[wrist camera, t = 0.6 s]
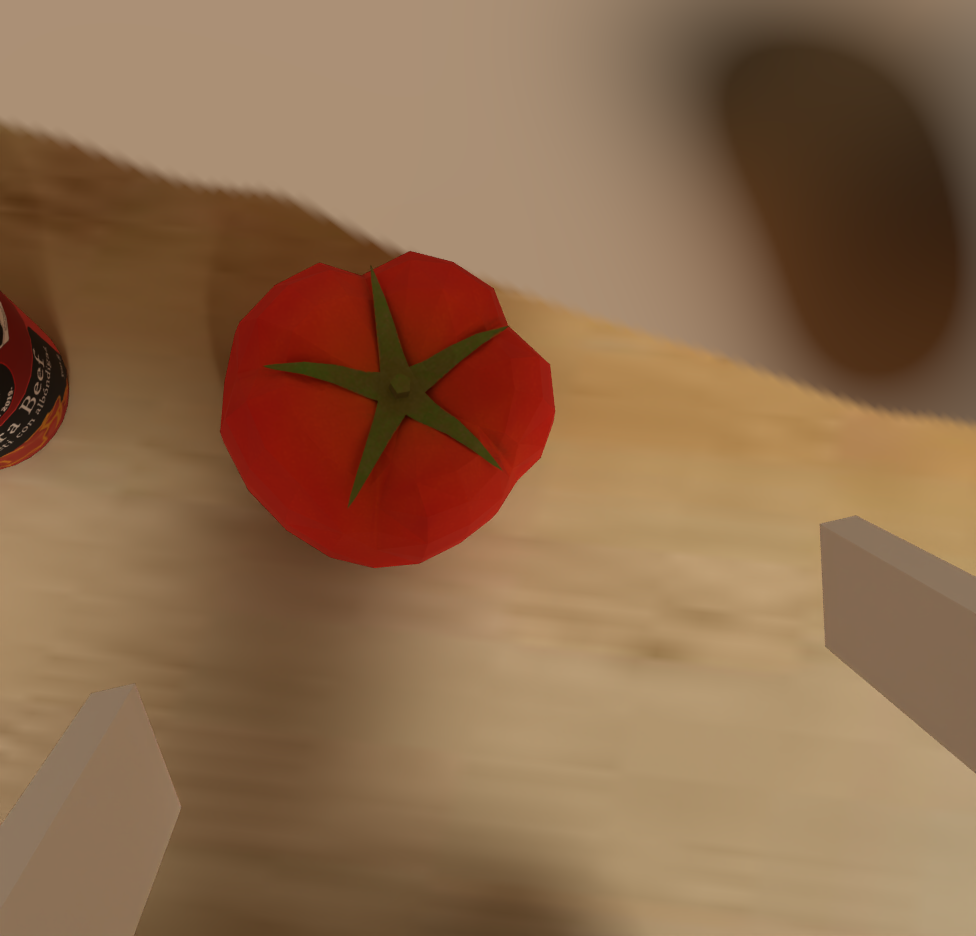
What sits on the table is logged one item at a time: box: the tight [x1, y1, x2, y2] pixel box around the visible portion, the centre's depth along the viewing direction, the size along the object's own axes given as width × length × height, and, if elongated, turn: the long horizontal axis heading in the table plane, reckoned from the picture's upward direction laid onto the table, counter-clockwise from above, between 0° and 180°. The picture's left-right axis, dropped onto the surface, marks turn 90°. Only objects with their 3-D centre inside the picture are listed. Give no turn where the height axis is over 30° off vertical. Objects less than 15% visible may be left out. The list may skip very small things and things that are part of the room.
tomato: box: [220, 251, 555, 568], centre depth 30 cm, size 14×13×10 cm
